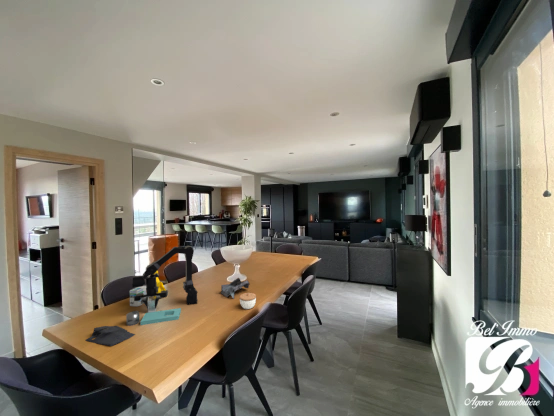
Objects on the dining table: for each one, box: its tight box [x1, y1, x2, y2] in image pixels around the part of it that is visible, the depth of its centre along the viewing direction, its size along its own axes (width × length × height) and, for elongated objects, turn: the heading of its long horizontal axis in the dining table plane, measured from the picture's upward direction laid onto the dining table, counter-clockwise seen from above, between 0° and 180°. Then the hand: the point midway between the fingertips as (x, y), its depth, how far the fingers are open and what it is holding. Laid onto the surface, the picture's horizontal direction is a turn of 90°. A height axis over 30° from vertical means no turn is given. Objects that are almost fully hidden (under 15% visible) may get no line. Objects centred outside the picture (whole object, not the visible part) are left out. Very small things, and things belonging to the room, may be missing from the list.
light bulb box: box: [129, 285, 150, 307], centre depth 160 cm, size 11×7×11 cm, turn 168°
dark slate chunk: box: [84, 325, 136, 347], centre depth 118 cm, size 15×22×5 cm
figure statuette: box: [153, 269, 166, 298], centre depth 169 cm, size 18×8×22 cm, turn 62°
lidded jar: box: [239, 292, 257, 310], centre depth 148 cm, size 11×11×9 cm
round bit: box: [125, 310, 141, 327], centre depth 131 cm, size 6×6×6 cm
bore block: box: [139, 307, 182, 326], centre depth 137 cm, size 20×11×2 cm, turn 106°
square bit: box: [147, 297, 157, 313], centre depth 146 cm, size 4×4×8 cm
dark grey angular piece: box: [220, 277, 251, 300], centre depth 174 cm, size 18×20×9 cm
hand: (152, 308), depth 146 cm, fingers closed on square bit, 4 cm apart
